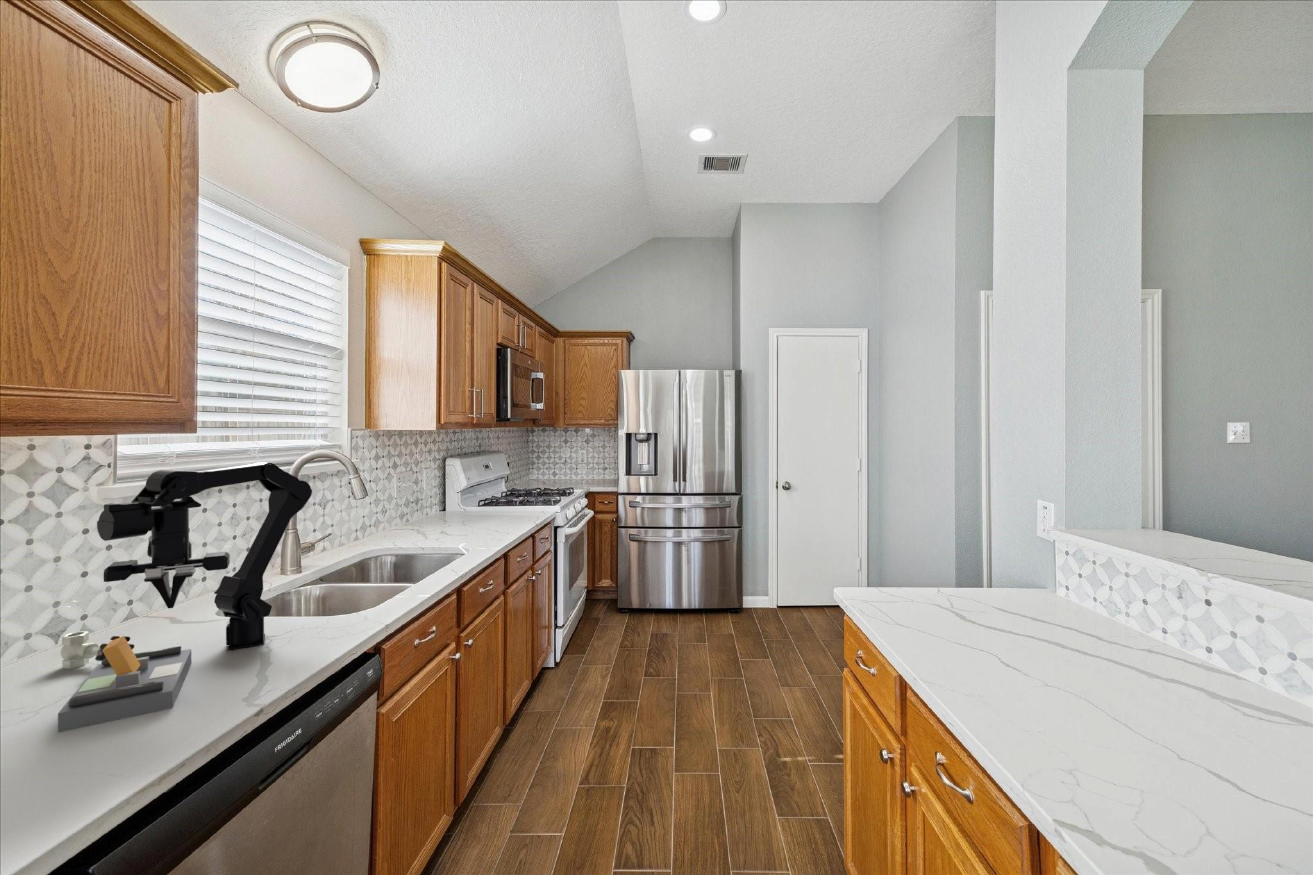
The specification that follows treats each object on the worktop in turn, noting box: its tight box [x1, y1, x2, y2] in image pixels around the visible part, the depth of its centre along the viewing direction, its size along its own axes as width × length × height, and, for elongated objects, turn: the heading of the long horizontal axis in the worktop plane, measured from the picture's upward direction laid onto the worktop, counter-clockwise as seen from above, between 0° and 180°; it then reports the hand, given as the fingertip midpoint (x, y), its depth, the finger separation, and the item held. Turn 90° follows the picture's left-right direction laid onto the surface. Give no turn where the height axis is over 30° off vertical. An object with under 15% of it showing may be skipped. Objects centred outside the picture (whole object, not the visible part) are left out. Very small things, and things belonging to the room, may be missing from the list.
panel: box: [57, 645, 192, 733], centre depth 101 cm, size 14×22×5 cm, turn 34°
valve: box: [60, 630, 135, 670], centre depth 113 cm, size 7×7×12 cm
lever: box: [102, 635, 140, 675], centre depth 100 cm, size 2×5×6 cm, turn 33°
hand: (171, 607), depth 112 cm, fingers closed
